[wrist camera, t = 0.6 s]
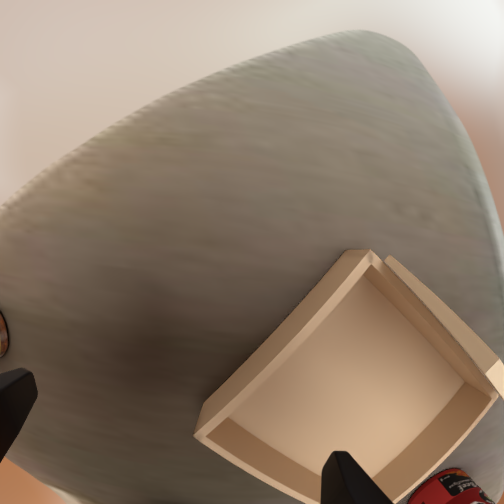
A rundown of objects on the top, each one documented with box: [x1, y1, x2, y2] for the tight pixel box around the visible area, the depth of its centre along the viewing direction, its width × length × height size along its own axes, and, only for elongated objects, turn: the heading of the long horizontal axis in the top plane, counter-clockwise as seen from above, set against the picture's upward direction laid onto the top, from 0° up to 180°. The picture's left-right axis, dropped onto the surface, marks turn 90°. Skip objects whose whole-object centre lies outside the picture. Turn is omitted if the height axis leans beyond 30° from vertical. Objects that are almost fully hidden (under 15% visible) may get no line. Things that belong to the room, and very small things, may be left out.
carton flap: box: [384, 255, 504, 401], centre depth 11 cm, size 12×16×1 cm
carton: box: [193, 249, 499, 504], centre depth 20 cm, size 16×18×5 cm
